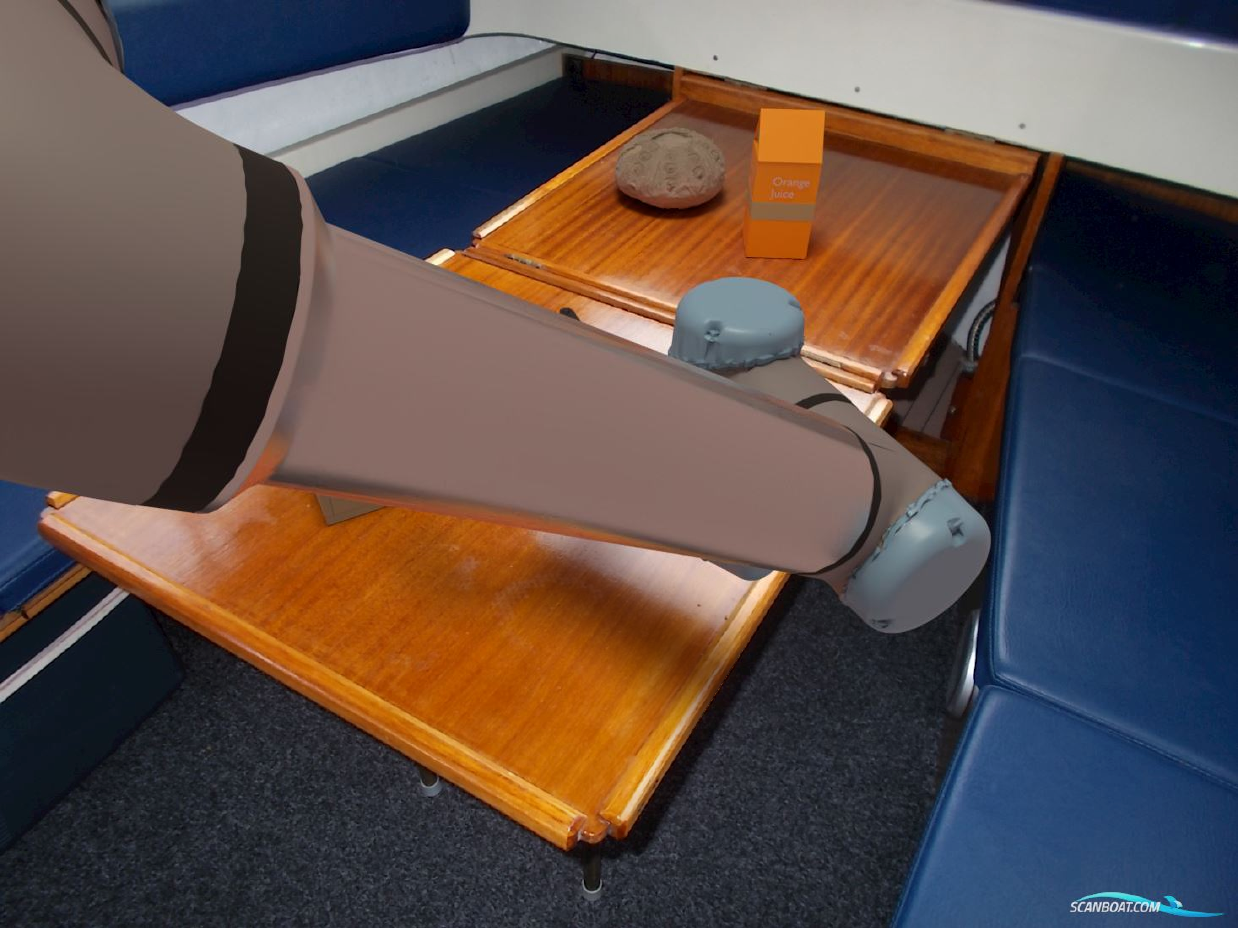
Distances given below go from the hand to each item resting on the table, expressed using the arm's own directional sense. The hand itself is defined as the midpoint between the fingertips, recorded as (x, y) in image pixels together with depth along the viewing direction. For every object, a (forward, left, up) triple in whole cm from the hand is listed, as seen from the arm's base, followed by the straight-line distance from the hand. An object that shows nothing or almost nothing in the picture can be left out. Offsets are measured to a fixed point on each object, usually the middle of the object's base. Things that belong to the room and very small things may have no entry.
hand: (423, 332), depth 74 cm
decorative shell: (+57, +51, -19) cm, 78 cm away
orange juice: (+62, +29, -19) cm, 71 cm away
